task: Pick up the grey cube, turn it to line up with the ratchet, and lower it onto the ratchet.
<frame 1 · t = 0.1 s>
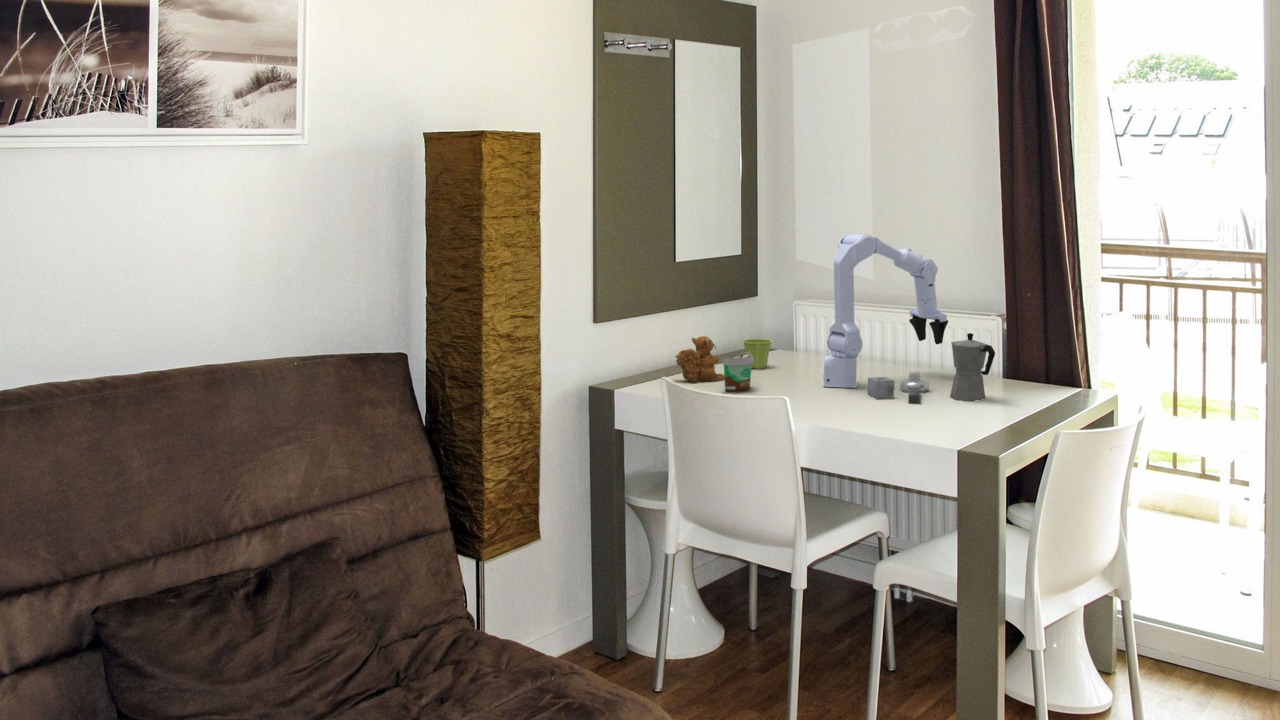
hand: (930, 341, 327), 11 cm above the table, tool pointing down, fingers open, 7 cm apart
food container: (742, 390, 311), on the table
grey cube: (880, 396, 300), on the table
ratchet: (914, 390, 308), on the table
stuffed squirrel: (699, 381, 326), on the table
plant pot: (757, 368, 347), on the table
coffeepot: (970, 399, 296), on the table
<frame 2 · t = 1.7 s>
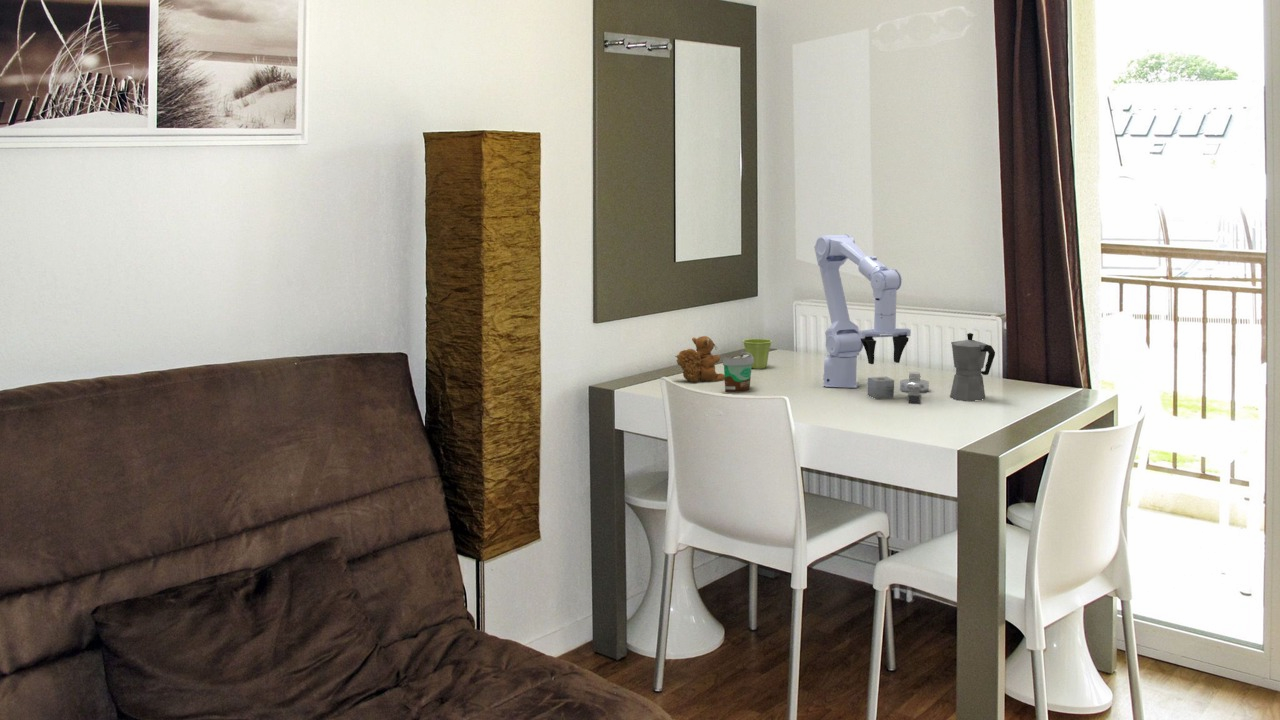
hand: (883, 363, 298), 9 cm above the table, tool pointing down, fingers open, 7 cm apart
nothing on the table moved.
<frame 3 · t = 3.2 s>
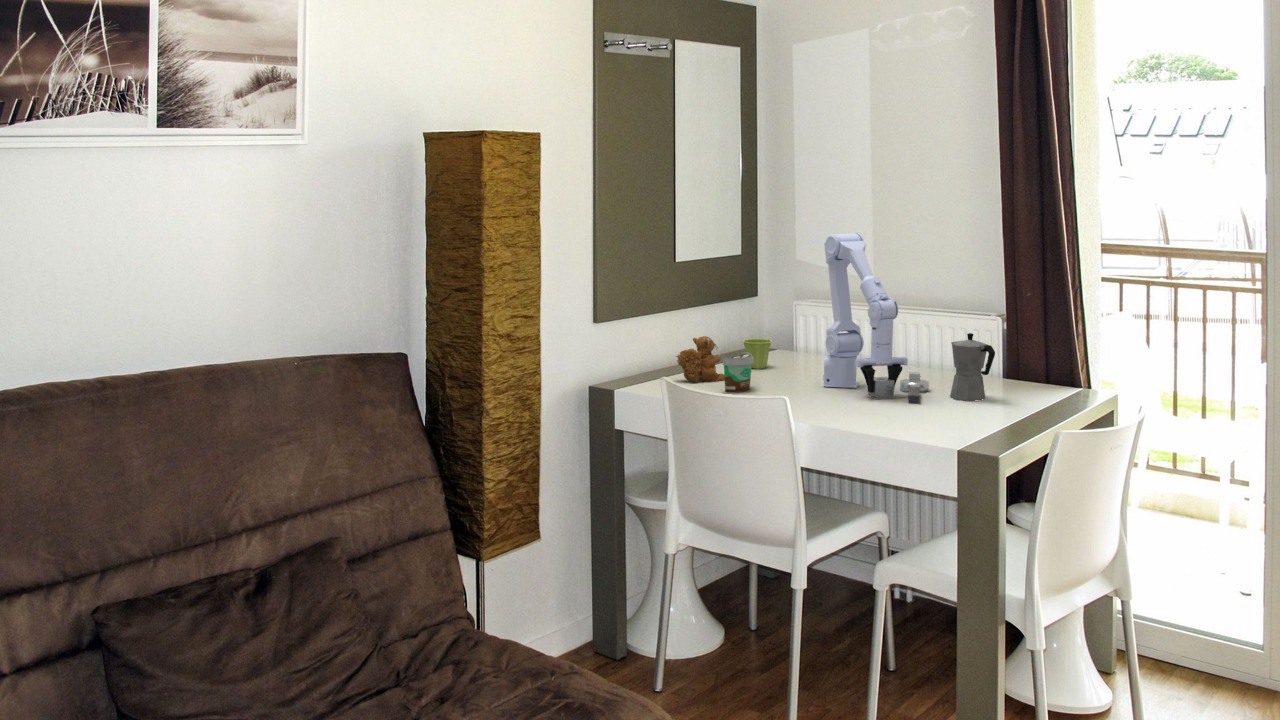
hand: (880, 391, 299), 1 cm above the table, tool pointing down, fingers closed on grey cube, 5 cm apart
grey cube: (880, 396, 300), on the table, touching gripper
everything else where it was.
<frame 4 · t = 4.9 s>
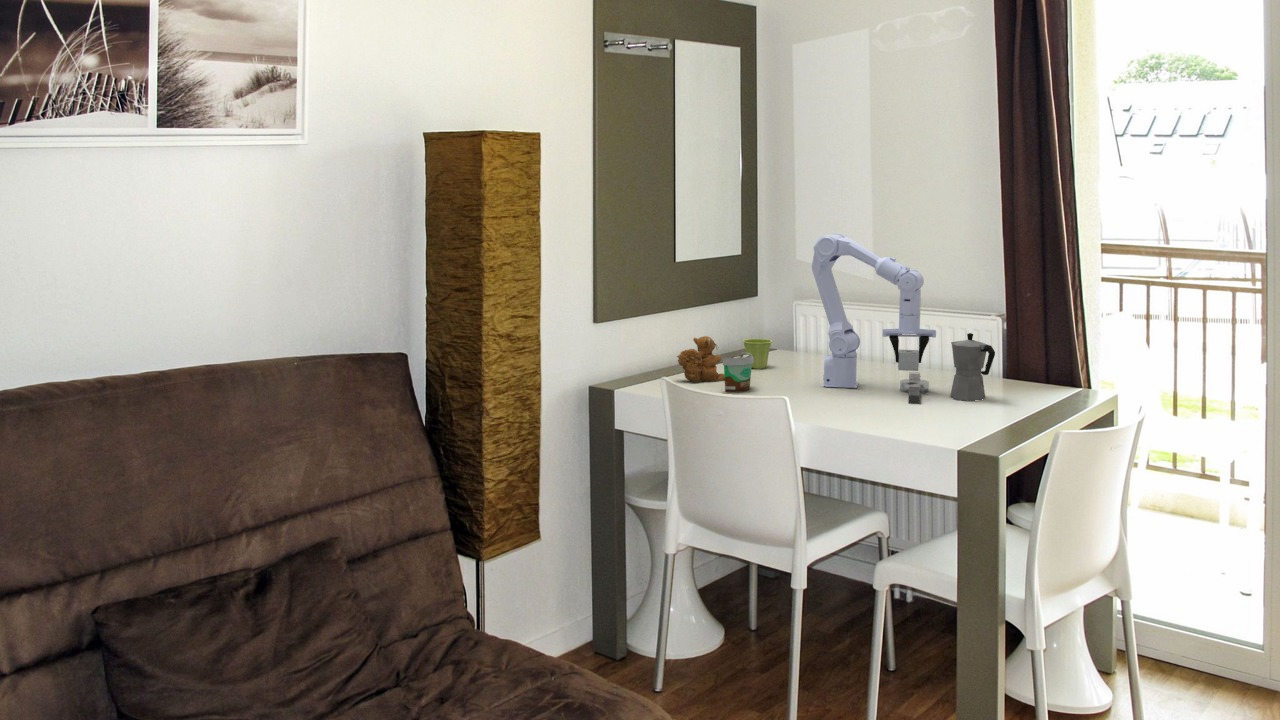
hand: (908, 362, 305), 8 cm above the table, tool pointing down, fingers closed on grey cube, 5 cm apart
grey cube: (907, 368, 305), point 7 cm above the table, touching gripper
everything else where it was.
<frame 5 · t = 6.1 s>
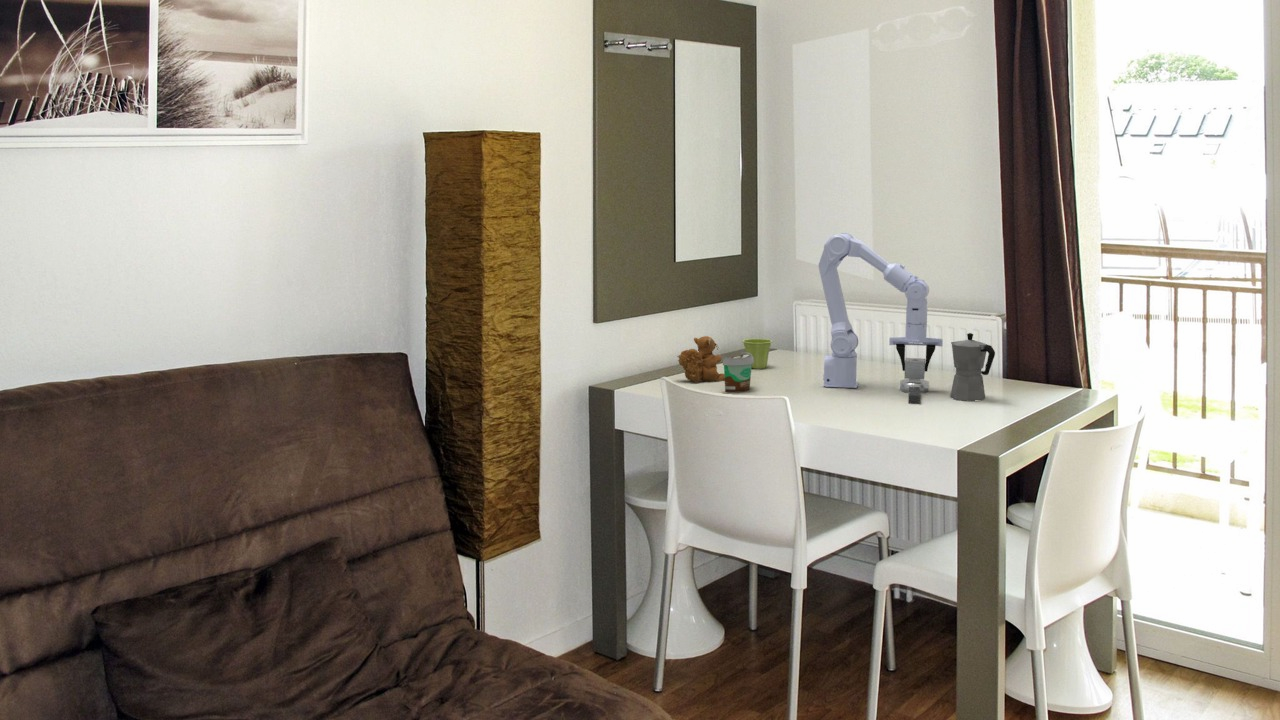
hand: (914, 370, 307), 6 cm above the table, tool pointing down, fingers closed on grey cube, 5 cm apart
grey cube: (914, 377, 307), point 4 cm above the table, touching gripper
everything else where it was.
when the fingers open (5 cm above the table, at t = 6.9 s): grey cube stays where it is, resting on ratchet.
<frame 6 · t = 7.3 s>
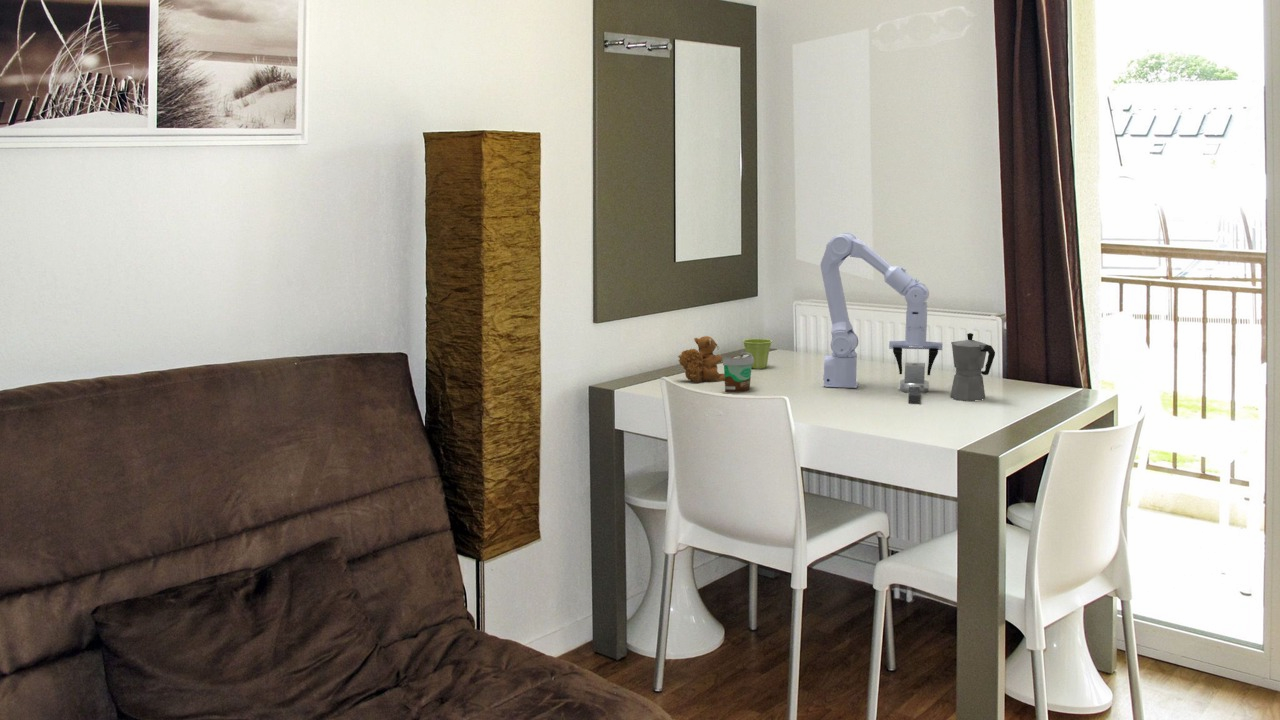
hand: (914, 374, 307), 5 cm above the table, tool pointing down, fingers open, 7 cm apart
grey cube: (914, 381, 307), point 2 cm above the table, touching ratchet
everything else where it was.
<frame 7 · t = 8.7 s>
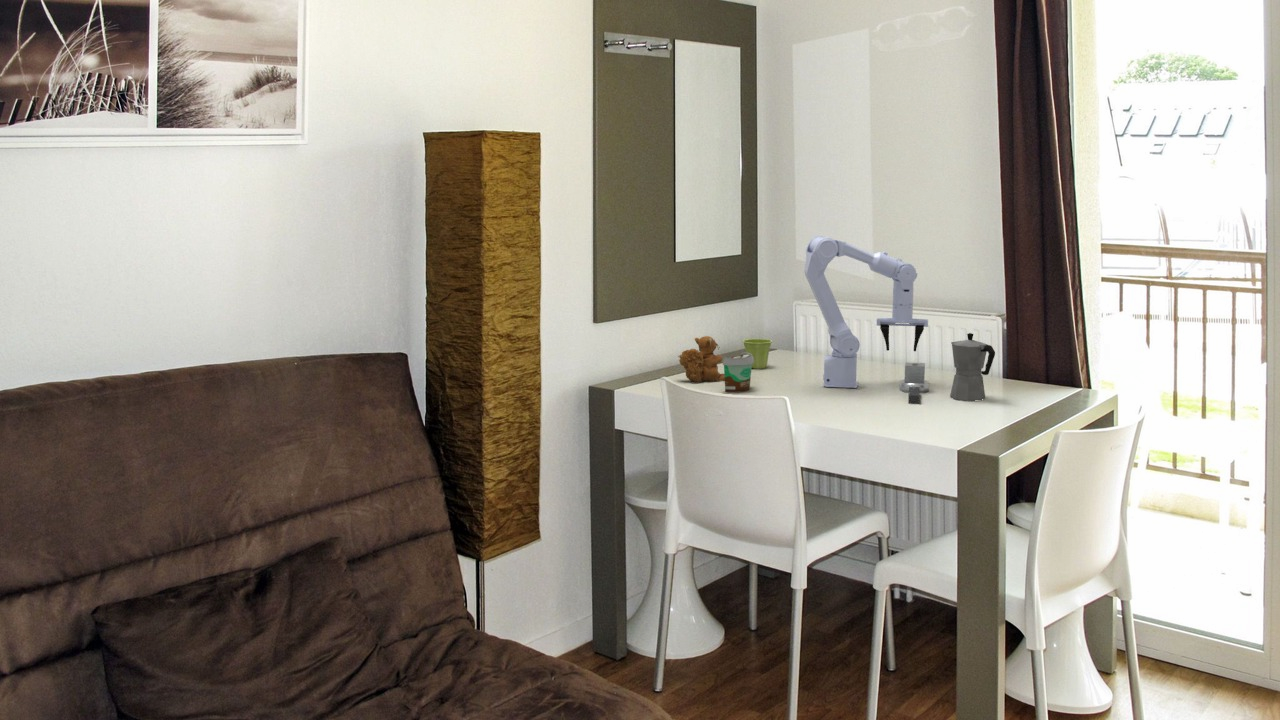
hand: (901, 350, 316), 10 cm above the table, tool pointing down, fingers open, 7 cm apart
nothing on the table moved.
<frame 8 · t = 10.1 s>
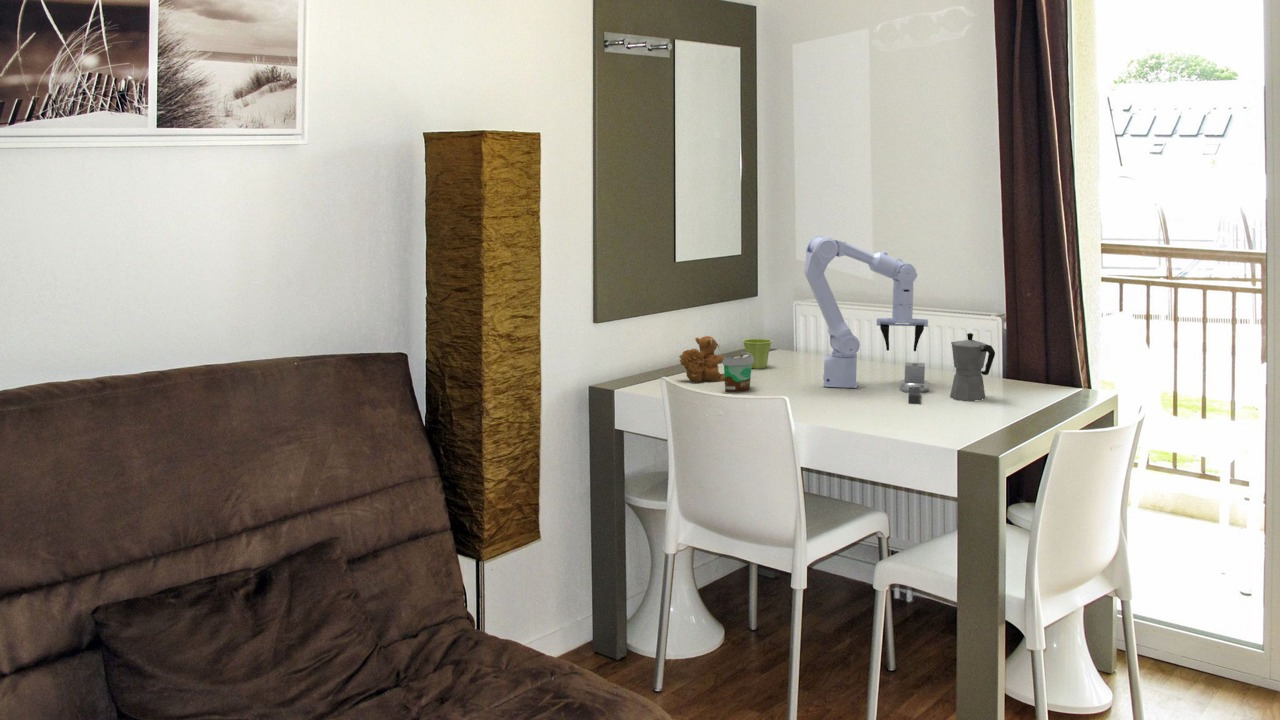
hand: (901, 350, 316), 10 cm above the table, tool pointing down, fingers open, 7 cm apart
at the end: grey cube 0.3 cm off-centre on the ratchet, point 2.5 cm above the ratchet's base; grey cube tilted 0°; the gripper is holding nothing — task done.
